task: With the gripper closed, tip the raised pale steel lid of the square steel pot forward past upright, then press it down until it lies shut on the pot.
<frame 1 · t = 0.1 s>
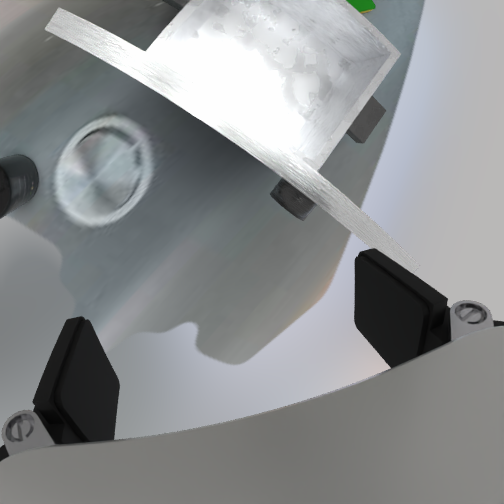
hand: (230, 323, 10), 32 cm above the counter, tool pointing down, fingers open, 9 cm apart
supplement bottle: (19, 179, 34), on the counter
lid: (229, 138, 20), point 20 cm above the counter, hinge at 98.0°
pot: (260, 64, 36), on the counter
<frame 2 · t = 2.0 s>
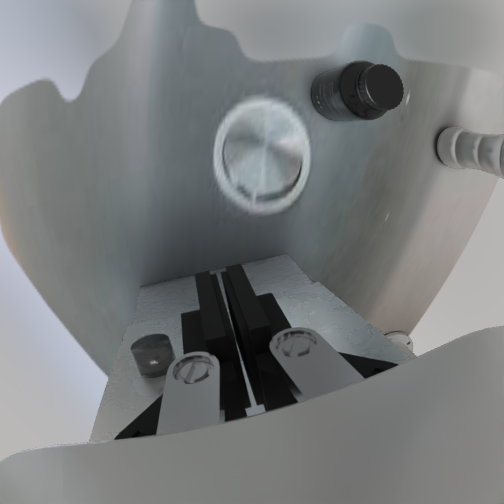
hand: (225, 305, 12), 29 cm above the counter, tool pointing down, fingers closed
plastic bottle: (444, 145, 43), on the counter
supplement bottle: (332, 95, 37), on the counter
lid: (234, 344, 23), point 20 cm above the counter, hinge at 98.0°
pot: (226, 326, 45), on the counter
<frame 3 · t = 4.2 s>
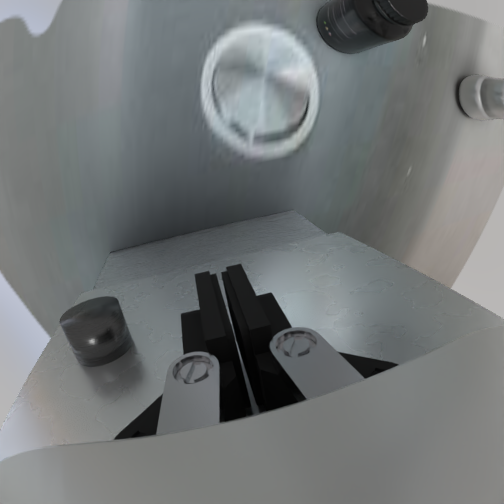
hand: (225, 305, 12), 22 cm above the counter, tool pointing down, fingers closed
plastic bottle: (465, 96, 34), on the counter
supplement bottle: (341, 27, 28), on the counter
lid: (224, 312, 14), point 20 cm above the counter, hinge at 95.5°, touching gripper
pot: (218, 304, 37), on the counter
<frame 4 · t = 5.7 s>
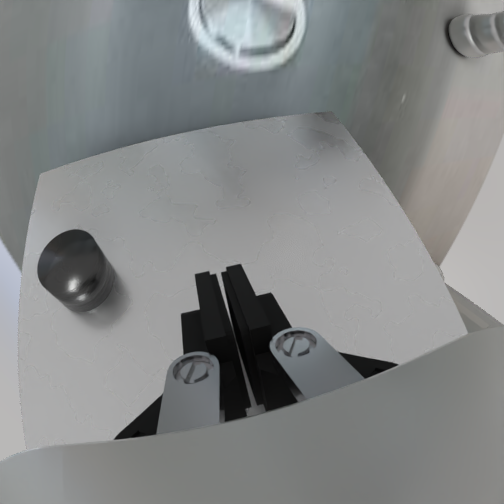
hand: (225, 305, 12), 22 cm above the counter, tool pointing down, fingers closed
plastic bottle: (456, 38, 31), on the counter
lid: (209, 246, 14), point 19 cm above the counter, hinge at 54.4°, touching gripper
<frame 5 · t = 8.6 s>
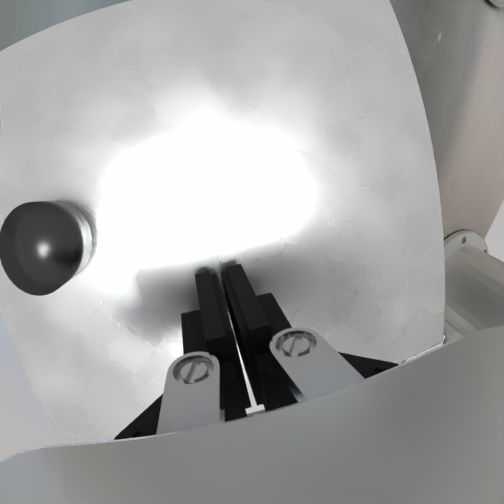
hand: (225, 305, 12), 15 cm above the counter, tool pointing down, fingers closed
lid: (212, 202, 11), point 14 cm above the counter, hinge at 11.3°
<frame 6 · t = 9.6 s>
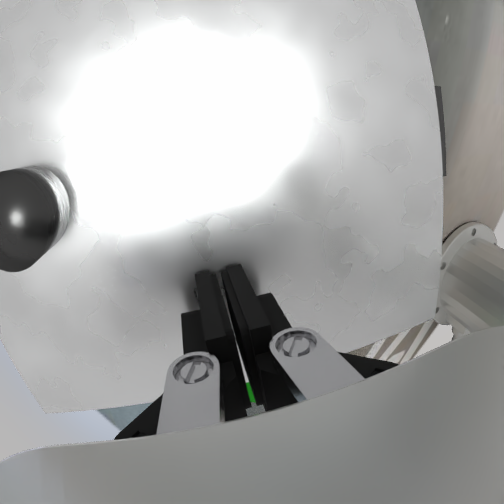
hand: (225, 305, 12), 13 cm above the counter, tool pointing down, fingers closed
lid: (199, 165, 9), point 13 cm above the counter, hinge at 2.5°, touching gripper
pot: (188, 148, 21), on the counter
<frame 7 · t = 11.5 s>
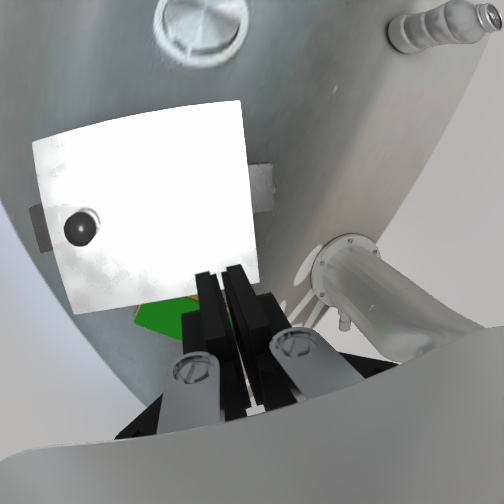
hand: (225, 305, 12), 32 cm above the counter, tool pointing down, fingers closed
plastic bottle: (398, 36, 39), on the counter
lid: (143, 214, 28), point 13 cm above the counter, hinge at 2.5°
dish sponge: (185, 311, 48), on the counter
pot: (152, 189, 40), on the counter
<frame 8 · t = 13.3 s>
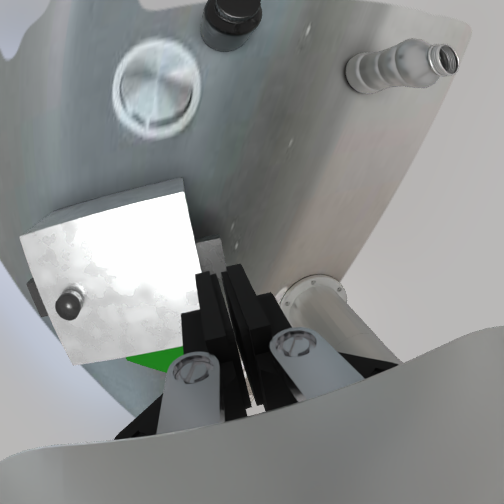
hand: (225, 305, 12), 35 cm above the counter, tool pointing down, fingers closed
plastic bottle: (357, 74, 43), on the counter
supplement bottle: (223, 31, 37), on the counter
lid: (115, 292, 34), point 13 cm above the counter, hinge at 2.5°
dish sponge: (169, 348, 54), on the counter
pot: (129, 252, 45), on the counter
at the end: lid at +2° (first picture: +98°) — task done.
